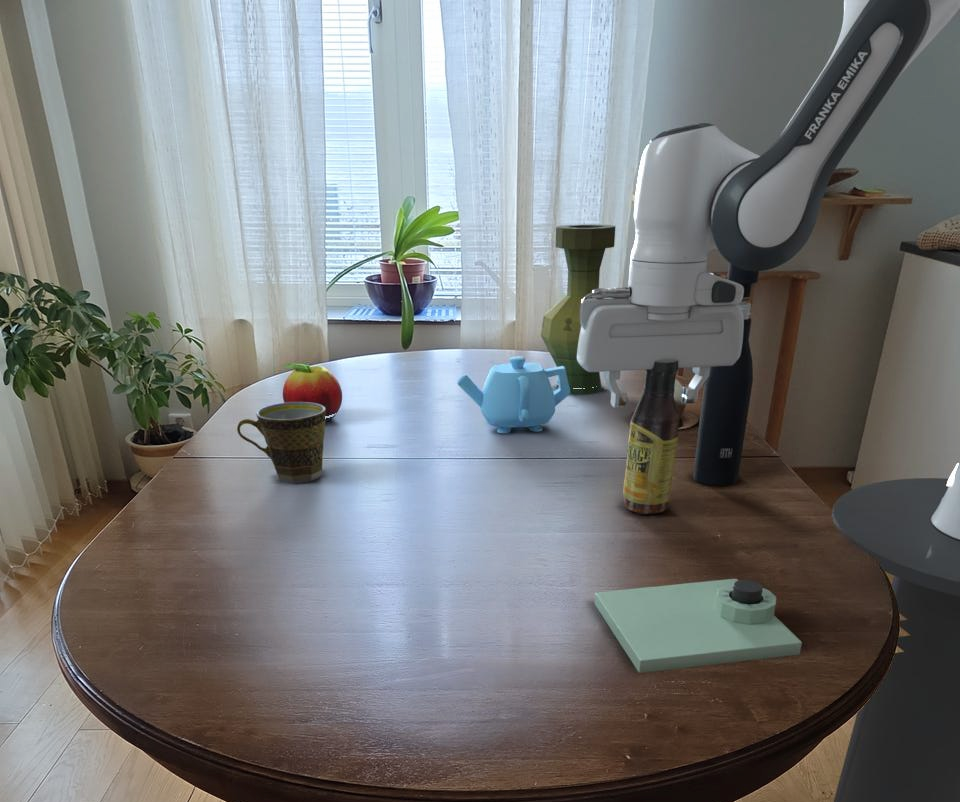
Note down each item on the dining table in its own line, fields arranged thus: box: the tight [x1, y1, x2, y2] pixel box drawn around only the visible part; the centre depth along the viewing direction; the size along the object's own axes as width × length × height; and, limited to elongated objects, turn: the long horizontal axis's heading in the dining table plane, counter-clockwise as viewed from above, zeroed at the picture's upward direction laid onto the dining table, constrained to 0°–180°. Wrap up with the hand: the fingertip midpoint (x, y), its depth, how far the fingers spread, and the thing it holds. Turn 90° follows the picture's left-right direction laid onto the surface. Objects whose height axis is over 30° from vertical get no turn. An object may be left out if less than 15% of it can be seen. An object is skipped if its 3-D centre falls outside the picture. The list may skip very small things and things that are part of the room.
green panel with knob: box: [593, 578, 803, 674], centre depth 81 cm, size 16×14×3 cm
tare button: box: [732, 579, 764, 605], centre depth 81 cm, size 3×3×2 cm
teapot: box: [456, 356, 571, 434], centre depth 143 cm, size 20×17×12 cm
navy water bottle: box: [692, 262, 760, 487], centre depth 112 cm, size 6×6×30 cm
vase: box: [540, 223, 617, 395], centre depth 161 cm, size 16×16×30 cm
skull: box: [629, 378, 699, 430], centre depth 146 cm, size 12×10×10 cm
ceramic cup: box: [236, 402, 326, 484], centre depth 121 cm, size 13×10×10 cm
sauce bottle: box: [622, 360, 680, 515], centre depth 105 cm, size 6×6×20 cm
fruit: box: [282, 362, 343, 423], centre depth 149 cm, size 11×11×10 cm
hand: (653, 404), depth 103 cm, fingers open, 8 cm apart
